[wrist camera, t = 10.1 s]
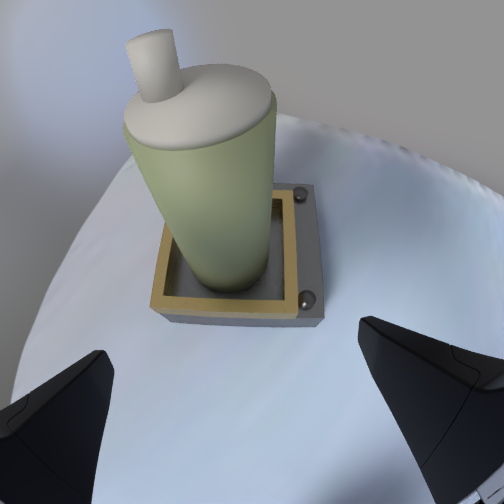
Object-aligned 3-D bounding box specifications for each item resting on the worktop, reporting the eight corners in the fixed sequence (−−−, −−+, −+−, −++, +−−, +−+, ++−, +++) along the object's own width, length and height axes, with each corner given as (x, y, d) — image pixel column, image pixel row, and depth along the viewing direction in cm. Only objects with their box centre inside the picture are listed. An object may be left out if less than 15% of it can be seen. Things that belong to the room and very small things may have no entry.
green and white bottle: (278, 231, 20) (295, 17, 7) (254, 303, 18) (239, 71, 4) (207, 213, 21) (160, 18, 8) (177, 278, 19) (62, 82, 5)
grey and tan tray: (308, 205, 25) (315, 172, 21) (315, 327, 20) (330, 313, 16) (188, 204, 25) (177, 172, 21) (170, 322, 20) (149, 307, 16)
